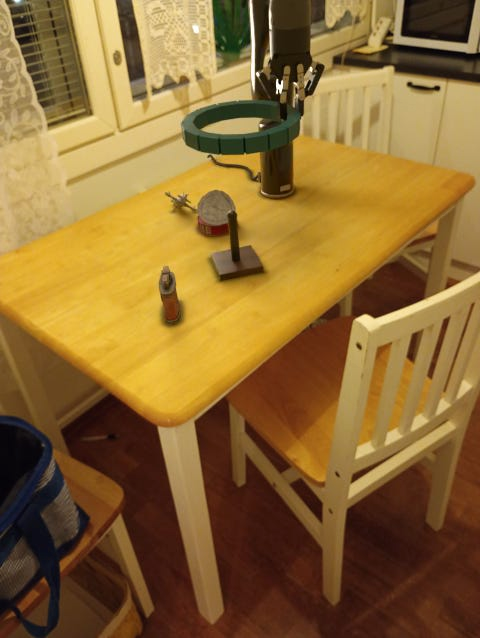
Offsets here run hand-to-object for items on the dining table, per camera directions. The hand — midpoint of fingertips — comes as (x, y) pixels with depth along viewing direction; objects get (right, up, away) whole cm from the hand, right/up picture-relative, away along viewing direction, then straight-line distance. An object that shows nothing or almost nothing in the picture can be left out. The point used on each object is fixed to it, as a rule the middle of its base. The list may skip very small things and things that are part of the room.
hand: (290, 119), depth 106 cm
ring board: (-11, -28, +15) cm, 34 cm away
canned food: (-16, -16, +31) cm, 39 cm away
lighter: (-24, -39, +3) cm, 46 cm away
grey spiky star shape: (-27, -11, +40) cm, 49 cm away
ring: (-10, -3, -1) cm, 10 cm away
